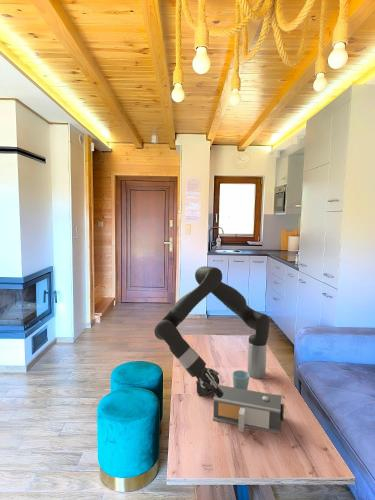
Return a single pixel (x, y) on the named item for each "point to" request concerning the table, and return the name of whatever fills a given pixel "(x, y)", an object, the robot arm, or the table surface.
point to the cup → (240, 379)
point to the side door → (252, 418)
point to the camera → (203, 392)
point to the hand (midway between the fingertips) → (221, 396)
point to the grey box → (235, 398)
